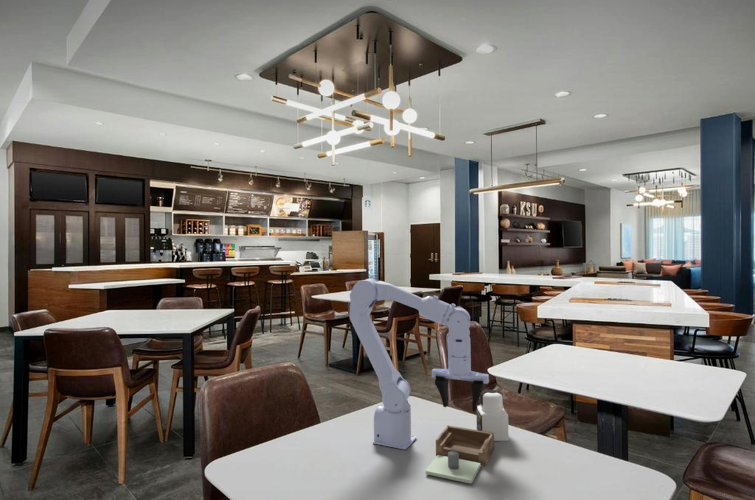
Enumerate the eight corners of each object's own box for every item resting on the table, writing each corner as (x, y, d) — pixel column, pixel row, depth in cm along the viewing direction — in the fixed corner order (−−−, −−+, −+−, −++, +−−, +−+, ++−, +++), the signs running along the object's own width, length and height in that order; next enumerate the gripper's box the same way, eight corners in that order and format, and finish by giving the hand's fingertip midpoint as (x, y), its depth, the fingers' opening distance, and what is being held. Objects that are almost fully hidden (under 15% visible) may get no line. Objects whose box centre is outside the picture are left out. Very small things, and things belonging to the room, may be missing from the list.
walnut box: (447, 440, 117) (447, 425, 117) (493, 449, 112) (493, 432, 112) (435, 456, 108) (435, 439, 108) (485, 466, 103) (484, 448, 103)
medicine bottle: (476, 430, 124) (475, 387, 124) (502, 430, 124) (501, 387, 124) (481, 441, 117) (480, 396, 117) (509, 441, 116) (508, 395, 117)
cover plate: (437, 457, 107) (437, 442, 107) (480, 466, 102) (480, 450, 102) (425, 473, 99) (425, 457, 99) (471, 483, 95) (471, 466, 95)
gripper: (427, 355, 113) (428, 408, 113) (484, 361, 107) (485, 417, 107) (436, 350, 120) (436, 400, 120) (490, 355, 113) (491, 408, 113)
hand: (460, 408), depth 114 cm, fingers open, 7 cm apart
